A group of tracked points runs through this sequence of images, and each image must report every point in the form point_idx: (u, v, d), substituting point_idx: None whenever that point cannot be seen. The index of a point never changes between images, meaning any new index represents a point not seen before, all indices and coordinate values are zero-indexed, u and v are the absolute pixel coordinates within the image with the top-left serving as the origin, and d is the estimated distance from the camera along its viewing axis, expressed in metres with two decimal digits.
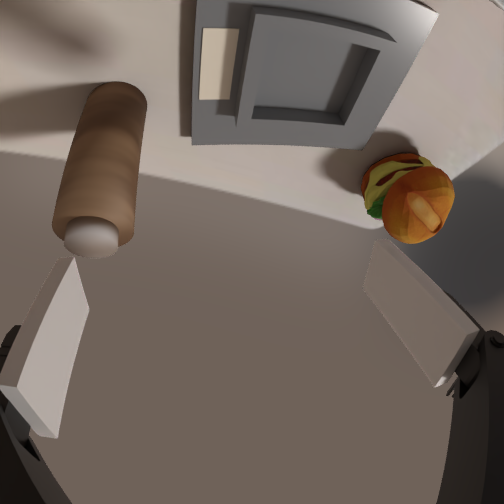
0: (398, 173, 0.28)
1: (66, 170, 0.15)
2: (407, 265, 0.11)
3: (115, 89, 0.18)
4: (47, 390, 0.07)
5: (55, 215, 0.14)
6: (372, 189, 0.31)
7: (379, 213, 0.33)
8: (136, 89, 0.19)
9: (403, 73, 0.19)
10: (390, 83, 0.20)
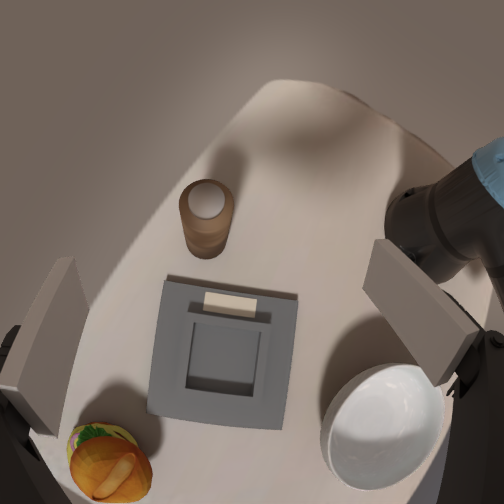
0: None
1: None
2: (407, 265, 0.11)
3: (225, 244, 0.37)
4: (47, 390, 0.07)
5: (228, 190, 0.29)
6: (109, 427, 0.28)
7: (85, 438, 0.26)
8: (217, 255, 0.38)
9: (228, 423, 0.32)
10: (218, 417, 0.32)
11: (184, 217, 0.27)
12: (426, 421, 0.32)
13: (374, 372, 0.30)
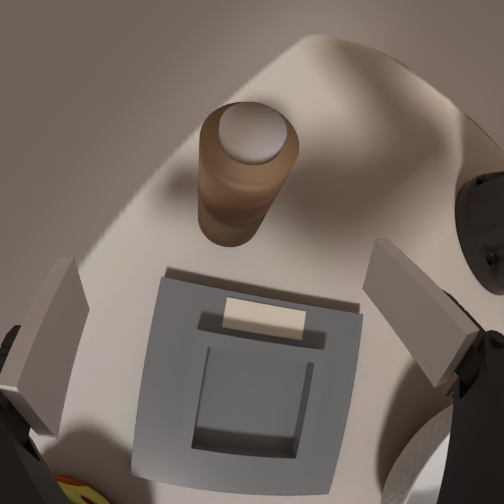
0: None
1: None
2: (407, 265, 0.11)
3: None
4: (47, 390, 0.07)
5: (288, 122, 0.16)
6: (74, 491, 0.15)
7: None
8: (245, 242, 0.25)
9: (255, 491, 0.19)
10: (240, 483, 0.19)
11: (209, 157, 0.14)
12: None
13: None
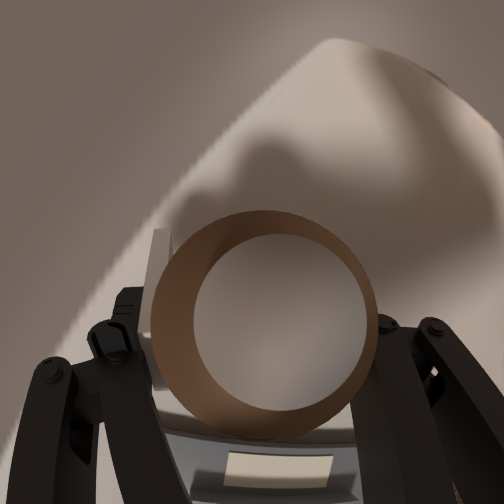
0: None
1: None
2: None
3: None
4: None
5: (355, 260, 0.07)
6: None
7: None
8: None
9: None
10: None
11: (178, 390, 0.06)
12: None
13: None
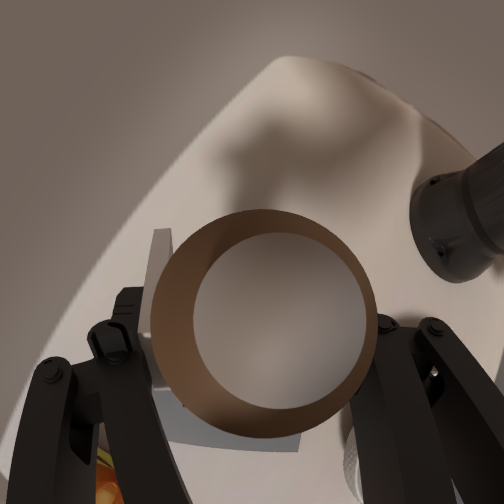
0: None
1: None
2: None
3: None
4: None
5: (354, 259, 0.07)
6: None
7: None
8: None
9: (235, 446, 0.26)
10: (223, 439, 0.26)
11: (178, 388, 0.06)
12: None
13: None
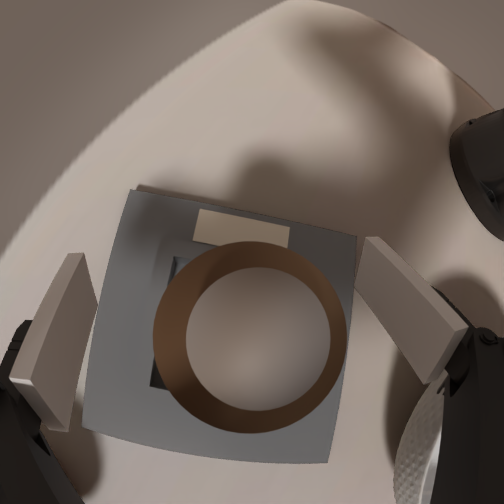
0: None
1: None
2: (397, 262, 0.12)
3: None
4: (59, 384, 0.07)
5: (328, 283, 0.08)
6: None
7: None
8: None
9: (233, 455, 0.16)
10: (214, 443, 0.16)
11: (176, 392, 0.07)
12: None
13: None
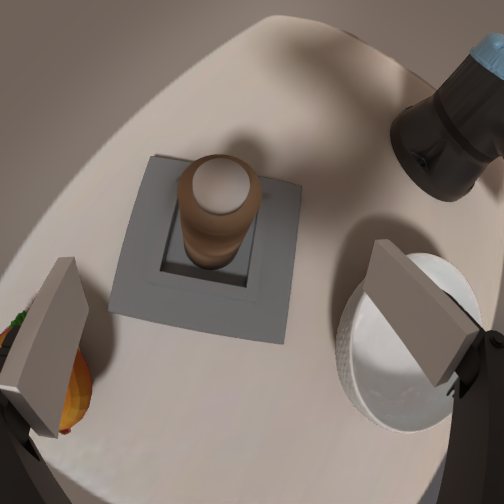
0: None
1: None
2: (407, 265, 0.11)
3: None
4: (47, 390, 0.07)
5: (253, 171, 0.19)
6: None
7: None
8: (226, 265, 0.28)
9: (213, 329, 0.26)
10: (200, 319, 0.26)
11: (185, 211, 0.17)
12: None
13: None
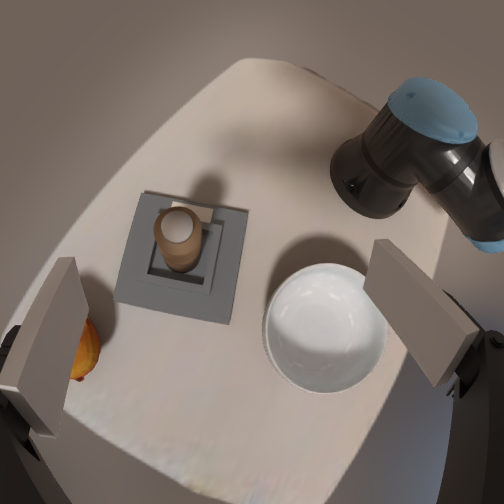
0: None
1: None
2: (407, 265, 0.11)
3: (199, 259, 0.41)
4: (47, 390, 0.07)
5: (197, 216, 0.32)
6: None
7: None
8: (191, 270, 0.41)
9: (182, 313, 0.40)
10: (173, 305, 0.40)
11: (158, 241, 0.31)
12: (372, 335, 0.40)
13: None
